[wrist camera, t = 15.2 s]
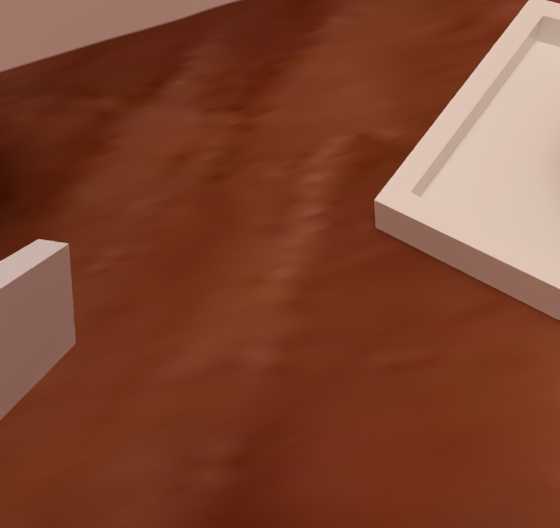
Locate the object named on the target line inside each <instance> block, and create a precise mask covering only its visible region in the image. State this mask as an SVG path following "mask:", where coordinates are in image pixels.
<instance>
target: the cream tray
mask: <svg viewBox="0 0 560 528" xmlns="http://www.w3.org/2000/svg"><path fill="white" fill-rule="evenodd" d="M374 204H375V228H377V229H379V230H381V231H383V232H385V233H387V234H389V235H391V236H393V237H395V238H397V239H399V240H401V241H403V242H405V243H407V244H409V245H411V246H413V247H415V248H417V249H419V250H421V251H423V252H424V253H426V254H428V255H430V256H432V257H434V258H436V259H438V260H440V261H442V262H444V263H446V264H448V265H450V266H452V267H454V268H456V269H458V270H460V271H462V272H464V273H466V274H468V275H470V276H472V277H474V278H476V279H478V280H480V281H482V282H484V283H486V284H488V285H490V286H492V287H494V288H496V289H498V290H499V291H501V292H503V293H505V294H507V295H509V296H511V297H513V298H515V299H517V300H519V301H521V302H523V303H525V304H527V305H529V306H531V307H533V308H535V309H537V310H539V311H541V312H543V313H545V314H547V315H549V316H551V317H553V318H555V319H557V320H559V321H560V4H558V3H554V2H550V1H546V0H529V1H528V2H527V3H526V5H525V6H524V7H523V9H522V10H521V11H520V12H519V14H518V15H517V16H516V18H515V19H514V20H513V21H512V23H511V24H510V25H509V27H508V28H507V29H506V30H505V32H504V33H503V34H502V36H501V37H500V38H499V40H498V41H497V42H496V43H495V45H494V46H493V47H492V49H491V50H490V51H489V52H488V54H487V55H486V56H485V58H484V59H483V60H482V61H481V63H480V64H479V65H478V67H477V68H476V69H475V71H474V72H473V73H472V74H471V76H470V77H469V78H468V80H467V81H466V82H465V83H464V85H463V86H462V87H461V89H460V90H459V91H458V92H457V94H456V95H455V96H454V98H453V99H452V100H451V102H450V103H449V104H448V105H447V107H446V108H445V109H444V111H443V112H442V113H441V114H440V116H439V117H438V118H437V120H436V121H435V122H434V123H433V125H432V126H431V127H430V129H429V130H428V131H427V133H426V134H425V135H424V136H423V138H422V139H421V140H420V142H419V143H418V144H417V145H416V147H415V148H414V149H413V151H412V152H411V153H410V155H409V156H408V157H407V158H406V160H405V161H404V162H403V164H402V165H401V166H400V167H399V169H398V170H397V171H396V173H395V174H394V175H393V176H392V178H391V179H390V180H389V182H388V183H387V184H386V186H385V187H384V188H383V189H382V191H381V192H380V193H379V195H378V196H377V197H376V198H375V200H374Z"/></svg>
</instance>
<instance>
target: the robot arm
mask: <svg viewBox="0 0 560 528" xmlns="http://www.w3.org/2000/svg"><path fill="white" fill-rule="evenodd" d="M75 344H76V341H75V326H74V312H73V297H72V283H71V268H70V254H69V244H67V243H61V242H54V241H48V240H41V239H38V240H36V241H34V242H33V243H31V244H29V245H28V246H26V247H24V248H22V249H21V250H19V251H17V252H16V253H14V254H12V255H10V256H9V257H7V258H5V259H4V260H2V261H0V420H1V419H2V418H3V417H4V416H5V415H6V414H7V413H8V412H9V411H10V410H11V409H12V408H13V407H14V406H15V405H16V404H17V403H18V402H19V401H20V400H21V399H22V398H23V397H24V396H25V394H26V393H27V392H28V391H29V390H30V389H31V388H32V387H33V386H34V385H35V384H36V383H37V382H38V381H39V380H40V379H41V378H42V377H43V376H44V375H45V374H46V373H47V372H48V371H49V370H50V369H51V368H52V367H53V366H54V365H55V364H56V363H57V362H58V361H59V360H60V359H61V358H62V357H63V356H64V355H65V354H66V353H67V352H68V351H69V350H70V349H71V348H72V347H73V346H74V345H75Z"/></svg>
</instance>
